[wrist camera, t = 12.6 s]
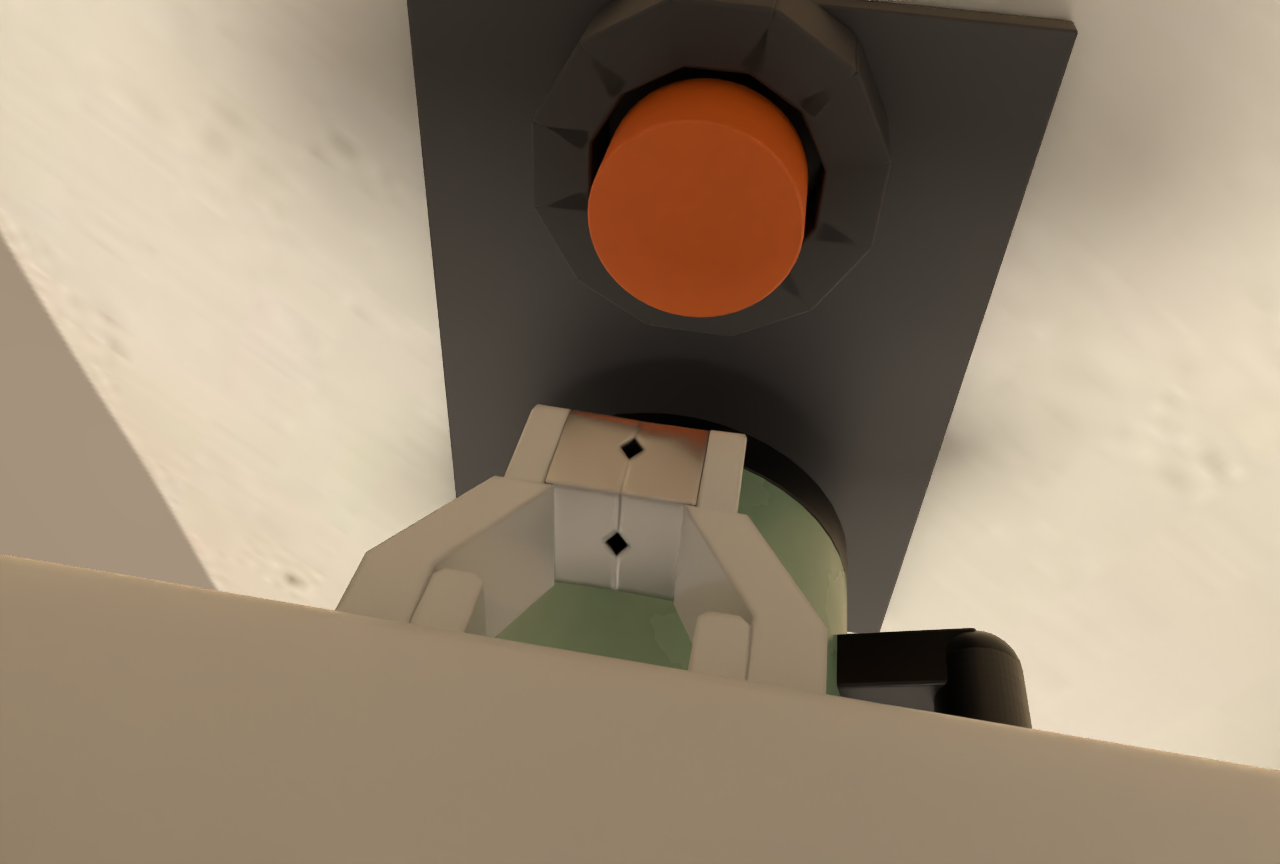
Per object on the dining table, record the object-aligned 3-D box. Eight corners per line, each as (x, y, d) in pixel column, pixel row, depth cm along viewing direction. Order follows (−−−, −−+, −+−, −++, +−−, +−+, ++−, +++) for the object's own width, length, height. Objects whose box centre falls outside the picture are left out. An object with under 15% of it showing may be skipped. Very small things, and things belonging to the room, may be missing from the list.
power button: (610, 65, 18) (588, 108, 17) (824, 88, 18) (822, 134, 17) (604, 252, 21) (585, 304, 20) (791, 276, 21) (787, 331, 19)
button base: (409, -72, 20) (361, -35, 18) (1081, -5, 18) (1109, 43, 16) (468, 557, 32) (443, 620, 30) (877, 621, 30) (879, 692, 28)
